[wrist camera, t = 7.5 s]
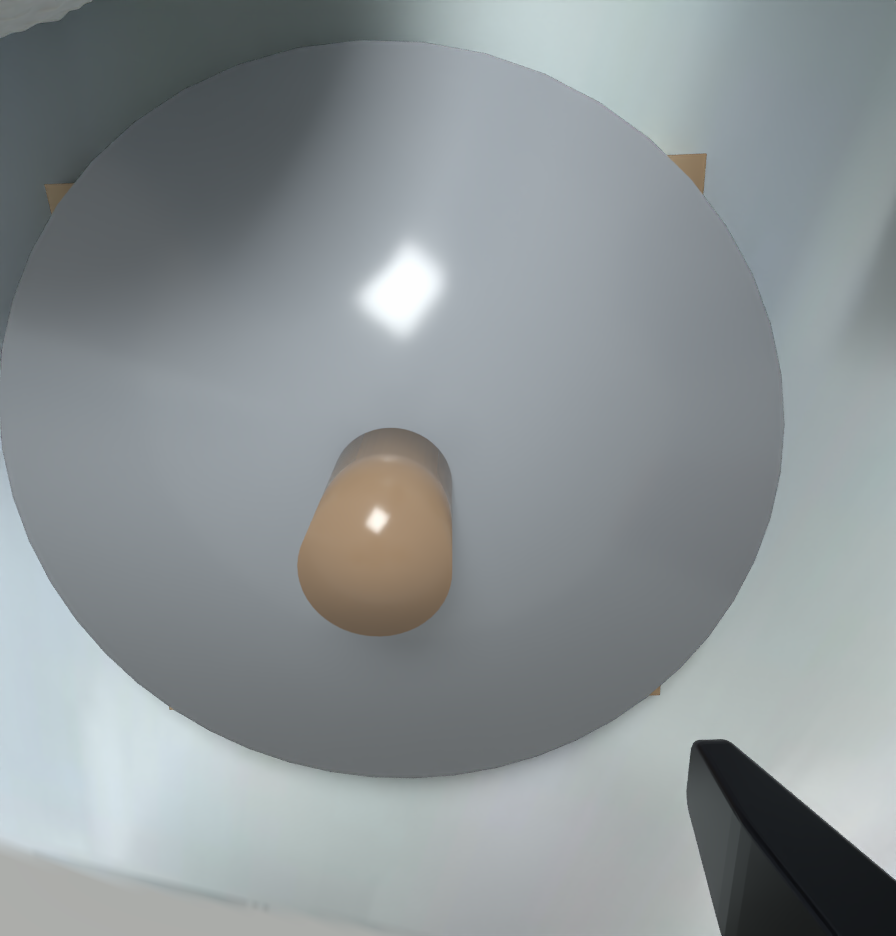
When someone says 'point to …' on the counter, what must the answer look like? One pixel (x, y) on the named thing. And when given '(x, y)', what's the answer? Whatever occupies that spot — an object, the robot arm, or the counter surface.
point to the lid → (391, 409)
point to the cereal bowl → (33, 13)
